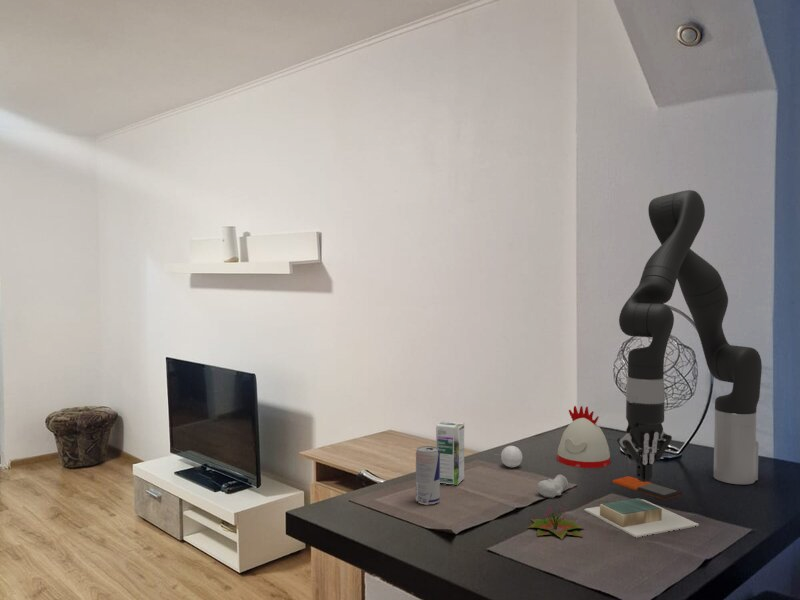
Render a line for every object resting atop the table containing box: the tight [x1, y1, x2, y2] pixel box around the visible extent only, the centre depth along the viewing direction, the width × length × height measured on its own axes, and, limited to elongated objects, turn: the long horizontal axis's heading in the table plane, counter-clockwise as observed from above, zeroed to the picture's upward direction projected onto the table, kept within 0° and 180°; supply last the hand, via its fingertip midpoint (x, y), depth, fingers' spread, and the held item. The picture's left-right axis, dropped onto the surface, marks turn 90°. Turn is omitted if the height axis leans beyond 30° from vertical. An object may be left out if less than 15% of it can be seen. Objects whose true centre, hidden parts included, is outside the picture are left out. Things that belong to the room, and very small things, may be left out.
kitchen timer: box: [557, 405, 611, 469], centre depth 184 cm, size 14×14×15 cm
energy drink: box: [415, 445, 441, 504], centre depth 151 cm, size 5×5×12 cm
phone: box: [611, 475, 682, 500], centre depth 161 cm, size 6×1×15 cm
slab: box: [599, 497, 662, 527], centre depth 140 cm, size 2×7×10 cm
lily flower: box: [526, 506, 586, 540], centre depth 135 cm, size 12×12×5 cm
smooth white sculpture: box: [536, 474, 569, 499], centre depth 156 cm, size 4×8×5 cm
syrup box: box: [435, 420, 465, 486], centre depth 165 cm, size 6×6×14 cm
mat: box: [583, 499, 700, 539], centre depth 141 cm, size 16×16×1 cm
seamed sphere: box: [495, 445, 523, 469], centre depth 179 cm, size 8×6×6 cm
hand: (644, 480), depth 141 cm, fingers closed
